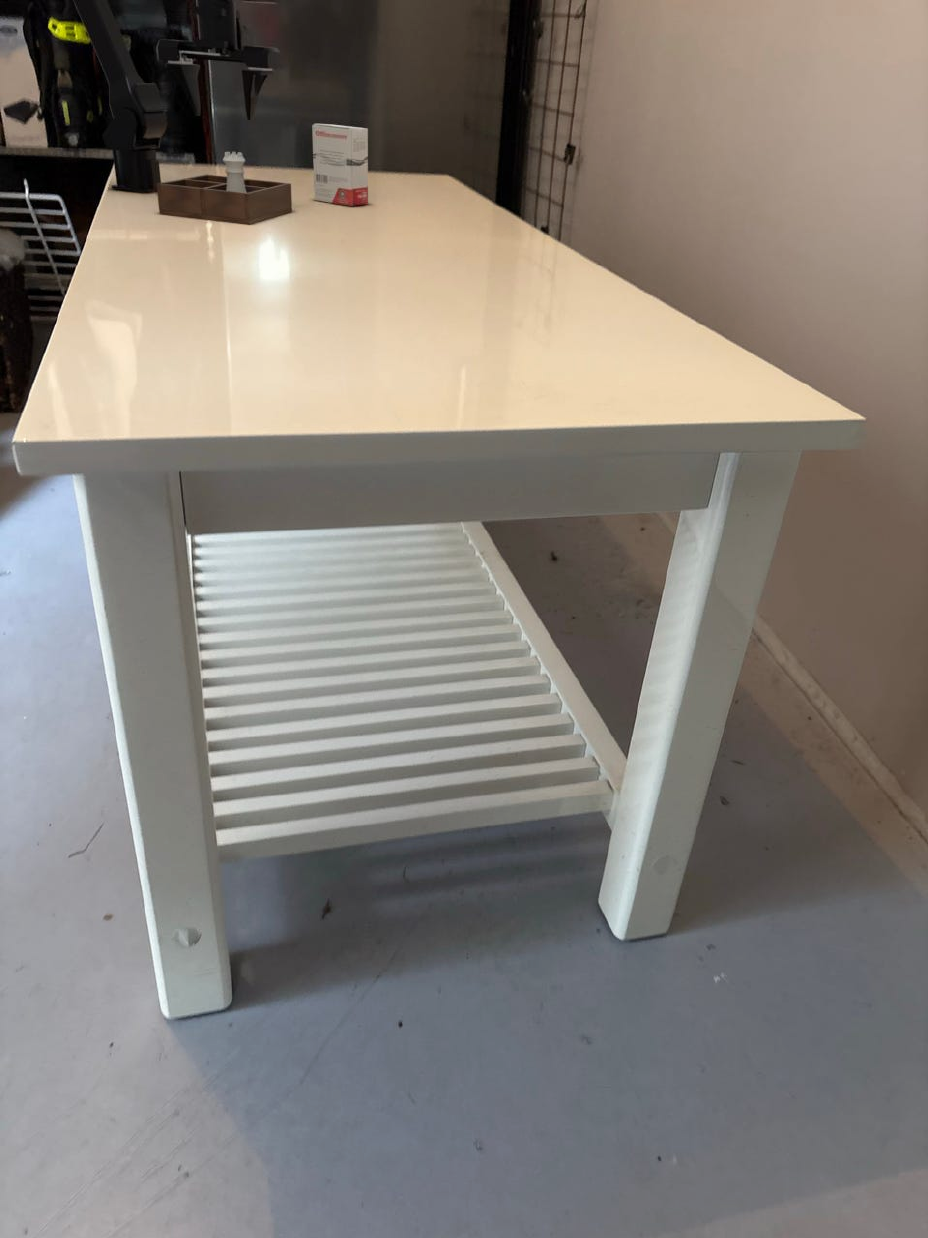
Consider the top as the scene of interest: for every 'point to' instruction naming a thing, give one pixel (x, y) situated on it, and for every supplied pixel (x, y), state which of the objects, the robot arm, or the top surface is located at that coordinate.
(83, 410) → the top surface
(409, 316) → the top surface
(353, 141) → the ink box
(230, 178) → the rook chess piece
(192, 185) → the organizer
